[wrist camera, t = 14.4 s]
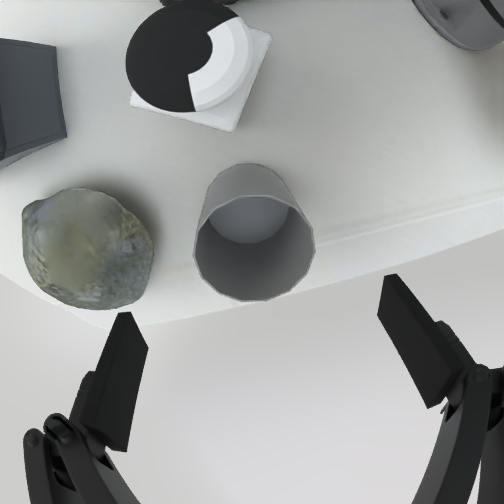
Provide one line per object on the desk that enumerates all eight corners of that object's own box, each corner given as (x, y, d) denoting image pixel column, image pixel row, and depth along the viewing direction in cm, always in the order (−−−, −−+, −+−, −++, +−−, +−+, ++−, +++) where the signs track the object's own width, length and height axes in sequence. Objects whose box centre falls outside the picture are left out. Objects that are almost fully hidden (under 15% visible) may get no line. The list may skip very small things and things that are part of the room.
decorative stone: (176, 246, 33) (161, 328, 30) (77, 235, 34) (59, 305, 30) (139, 179, 20) (104, 306, 17) (19, 181, 21) (-14, 274, 17)
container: (155, 105, 22) (91, 108, 11) (183, 32, 19) (143, -22, 8) (233, 127, 24) (233, 144, 13) (262, 54, 21) (290, 9, 9)
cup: (228, 253, 30) (228, 316, 22) (190, 188, 27) (169, 230, 18) (301, 221, 29) (330, 273, 20) (269, 149, 25) (289, 172, 17)
